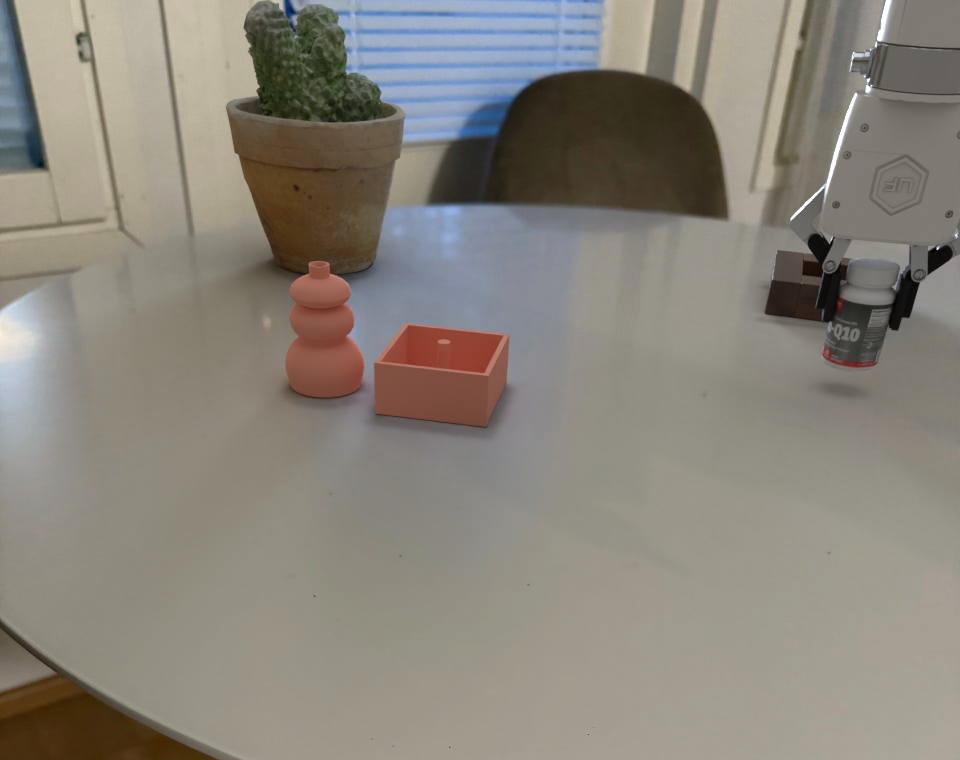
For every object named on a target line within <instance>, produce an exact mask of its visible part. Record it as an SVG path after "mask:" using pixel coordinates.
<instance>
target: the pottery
mask: <svg viewBox="0 0 960 760" xmlns="http://www.w3.org/2000/svg"><path fill="white" fill-rule="evenodd" d="M308 265H309V274H303V275H302V276H300V277H297V278H296V279H295V280H294V281H293V282H292V283H291V285H290V288H289V295H290V297H291V299H292V300H293V301H294V302H295V304H294V305H293V307H292V308H291V310H290V313H289V323H290V327H291V329H292V330H293V332H294V333H295V335H297V337H296V338H295V339H294V340H293V341H292V342H291V344H289V347H288V348H287V351H286V354H285V359H284V366H285V367H284V368H285V372H286V375H287V379H288V381H289V384H290V387H291V388H292V390H293V391H294V392H296V393H298V394H300V395H303V396H307V397H312V398H320V399H321V398H322V399H323V398H325V399H326V398H327V399H329V398H338V397H343V396H347V395H350V394H352V393H353V394H354V393H355V392H357V391H358V390H359V389H360V387H361V385H362V381H363V376H364V372H365V360H364V356H363V352H362V350H361V348H360V347H359V345H358V344H357V343H356V341H355V340H354V339H353V338H352V337H351V336H349V335H350V333H352V331H353V328H354V326H355V319H356V317H355V314H354V312H353V309H352V308H351V306H350V305H349V304H348V303H347V302H348V301H349V300H350V297H351V295H352V290H351V286H350V284H349V283H348V281H346V280H345V279H344V278H342V277H341V276H338V275H332V274H330V267H329V263H328V262H324V261H314V262H310V263H309V264H308ZM509 349H510V333H502V332H495V331H494V332H492V331H483V330H474V329H465V328H456V327H448V326H447V327H446V326H437V325H430V324H429V325H427V324H418V323H409V322H404V323H403V325H402V326H401V327H400V329H399V330H398V331H397V332H396V333H395V335H394V336H393V338H392V339H391V340H390V342H389V343H388V344H387V346H386V347H385V348H384V349H383V350H382V352H381V353H380V355H379V356H378V357H377V358H376V360H374V363H373V373H374V374H373V375H374V377H373V378H374V379H373V380H374V409H375V410H374V412H375V413H374V414H375V415H383V416H392V417H400V418H408V419H418V420H424V421H431V422H432V421H433V422H439V423H440V422H442V423H448V424H458V425H465V426H473V427H483V428H487V427H488V424H489V422H490V419H491V417H492V416H493V414H494V411H495V409H496V407H497V404H498V402H499V400H500V398H501V395H502V393H503V392H504V389H505V386H506V385H507V381H508V365H509Z"/></svg>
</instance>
